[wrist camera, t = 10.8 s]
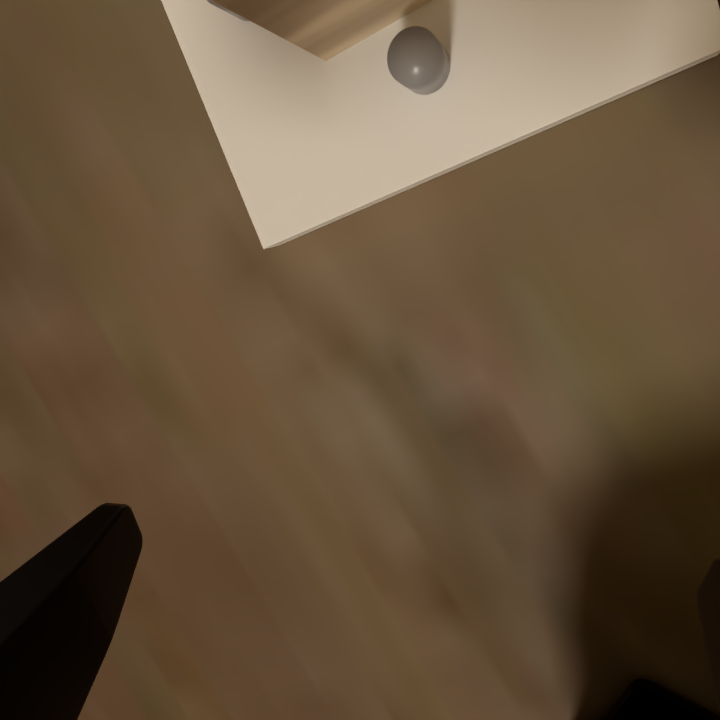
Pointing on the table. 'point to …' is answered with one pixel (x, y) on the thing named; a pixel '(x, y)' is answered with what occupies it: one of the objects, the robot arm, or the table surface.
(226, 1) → the maple block
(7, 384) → the table surface
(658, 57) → the stub base plate
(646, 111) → the table surface
